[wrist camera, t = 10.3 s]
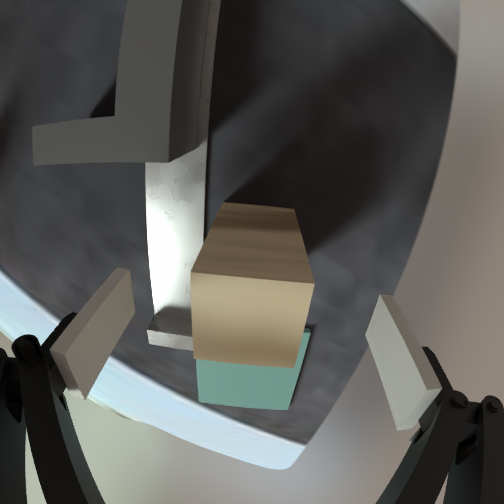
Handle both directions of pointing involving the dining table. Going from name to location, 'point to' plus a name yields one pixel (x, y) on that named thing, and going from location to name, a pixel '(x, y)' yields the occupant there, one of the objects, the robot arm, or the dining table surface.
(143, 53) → the grey l-shaped block
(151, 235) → the rail
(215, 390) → the pad
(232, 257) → the beech block
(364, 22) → the dining table surface
